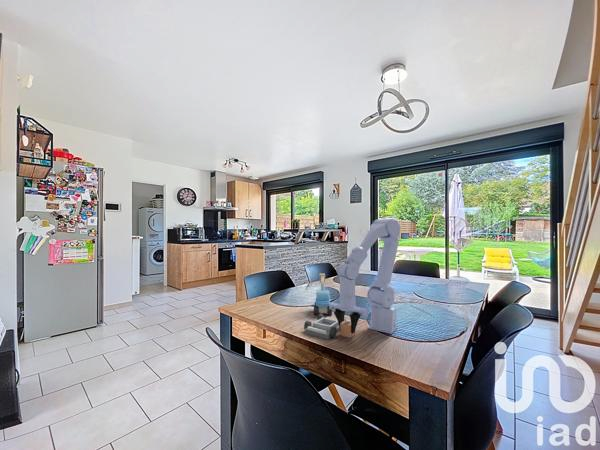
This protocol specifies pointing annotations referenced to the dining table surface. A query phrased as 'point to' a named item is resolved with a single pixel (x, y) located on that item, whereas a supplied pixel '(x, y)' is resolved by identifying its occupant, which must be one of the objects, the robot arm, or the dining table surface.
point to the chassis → (323, 327)
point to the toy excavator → (322, 299)
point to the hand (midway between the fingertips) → (347, 331)
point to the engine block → (346, 329)
